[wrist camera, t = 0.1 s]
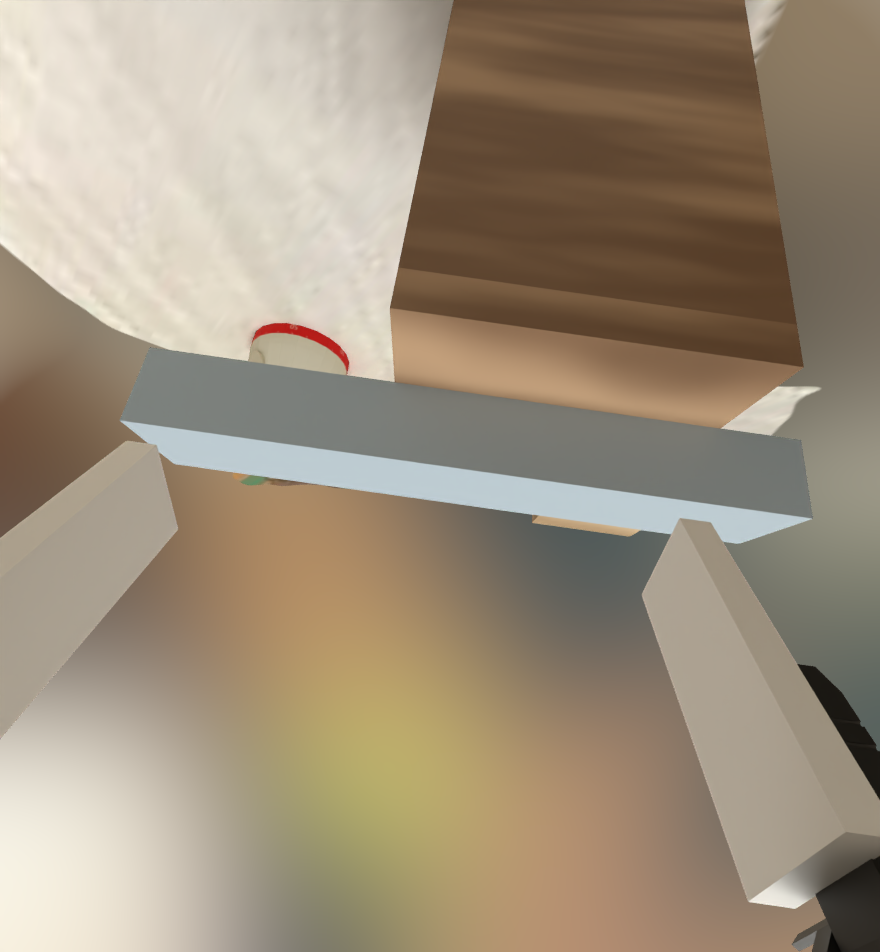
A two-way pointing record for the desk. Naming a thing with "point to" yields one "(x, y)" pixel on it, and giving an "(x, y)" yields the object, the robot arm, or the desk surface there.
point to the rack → (597, 216)
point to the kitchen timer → (297, 349)
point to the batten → (465, 447)
